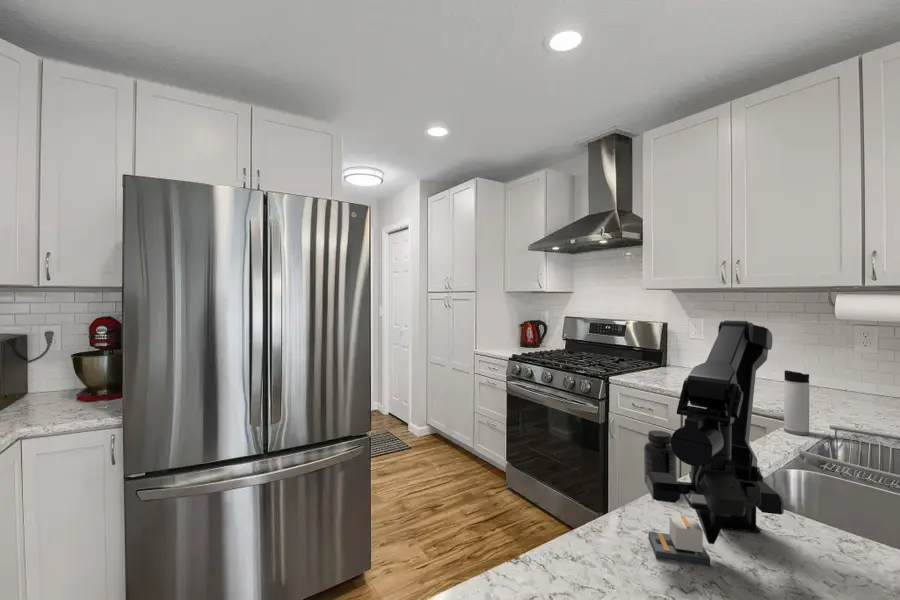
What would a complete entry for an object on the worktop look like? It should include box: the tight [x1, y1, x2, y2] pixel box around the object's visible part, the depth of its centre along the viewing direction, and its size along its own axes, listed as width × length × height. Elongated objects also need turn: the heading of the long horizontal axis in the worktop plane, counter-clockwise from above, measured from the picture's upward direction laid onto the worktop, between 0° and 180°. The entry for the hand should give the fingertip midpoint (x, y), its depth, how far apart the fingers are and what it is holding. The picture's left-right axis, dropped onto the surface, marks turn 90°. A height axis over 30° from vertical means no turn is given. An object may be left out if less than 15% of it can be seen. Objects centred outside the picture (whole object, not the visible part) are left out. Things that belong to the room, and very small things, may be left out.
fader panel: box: [648, 531, 711, 567], centre depth 71 cm, size 8×6×1 cm
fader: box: [669, 515, 704, 552], centre depth 71 cm, size 4×4×4 cm
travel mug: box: [783, 369, 810, 436], centre depth 135 cm, size 6×7×20 cm
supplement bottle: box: [643, 429, 678, 485], centre depth 96 cm, size 7×7×12 cm
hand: (710, 542), depth 70 cm, fingers closed
